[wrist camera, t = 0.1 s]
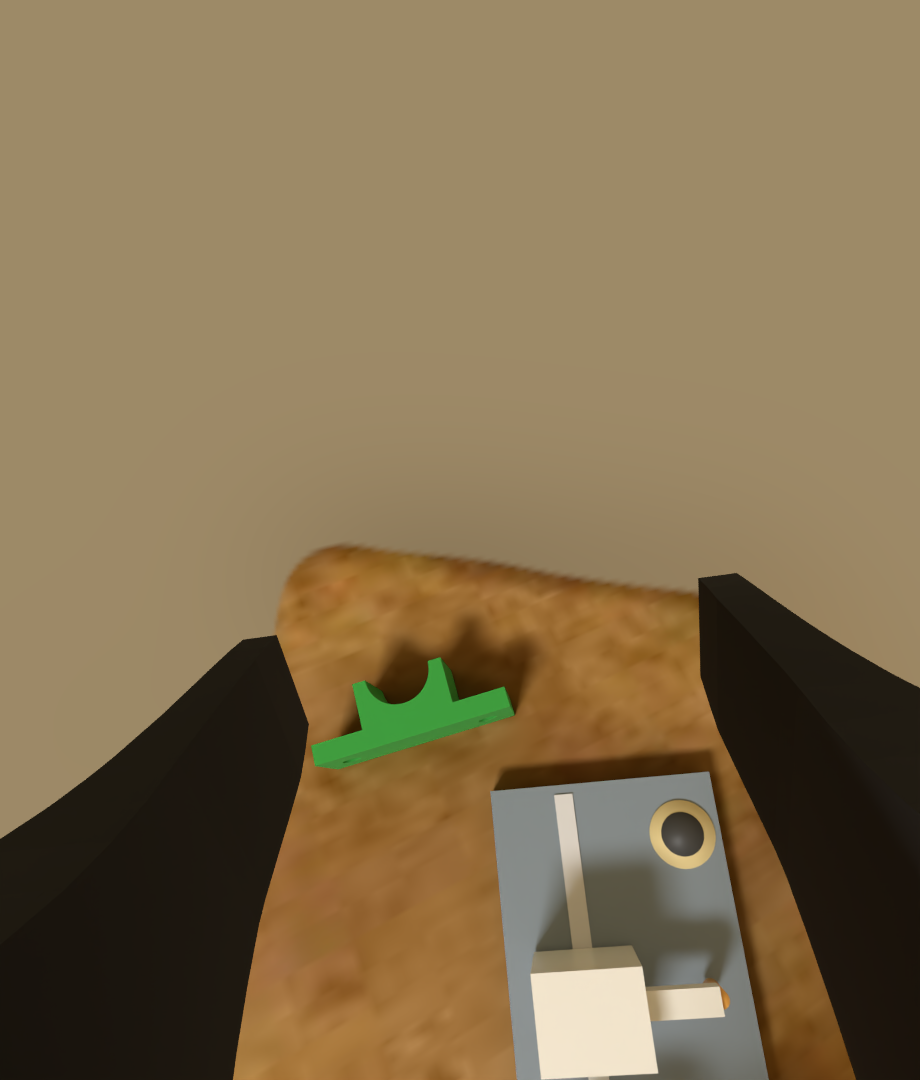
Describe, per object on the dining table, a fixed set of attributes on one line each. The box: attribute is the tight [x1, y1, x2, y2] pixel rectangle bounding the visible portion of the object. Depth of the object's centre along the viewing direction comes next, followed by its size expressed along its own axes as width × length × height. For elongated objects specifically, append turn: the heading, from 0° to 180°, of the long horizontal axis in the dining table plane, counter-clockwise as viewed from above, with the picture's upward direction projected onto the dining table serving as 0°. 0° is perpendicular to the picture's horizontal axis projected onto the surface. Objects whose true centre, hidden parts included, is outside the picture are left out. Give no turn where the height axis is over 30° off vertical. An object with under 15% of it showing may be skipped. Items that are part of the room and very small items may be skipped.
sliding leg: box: [530, 945, 730, 1080], centre depth 34 cm, size 4×9×5 cm, turn 95°
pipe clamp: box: [311, 658, 515, 769], centre depth 42 cm, size 11×4×5 cm, turn 106°
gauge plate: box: [490, 772, 769, 1080], centre depth 35 cm, size 20×12×7 cm, turn 5°
